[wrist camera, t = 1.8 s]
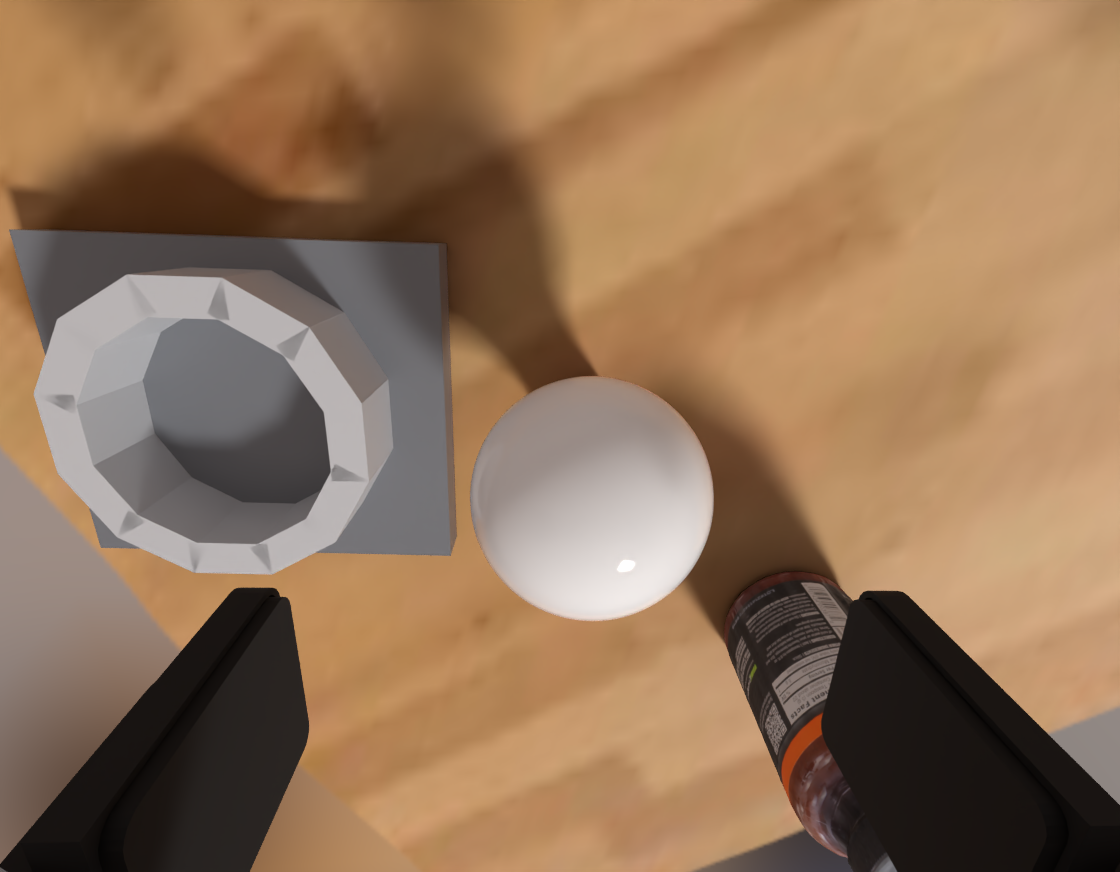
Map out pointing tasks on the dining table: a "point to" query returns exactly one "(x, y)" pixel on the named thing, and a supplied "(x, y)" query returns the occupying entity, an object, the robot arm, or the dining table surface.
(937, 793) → the robot arm
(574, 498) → the lightbulb
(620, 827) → the dining table surface
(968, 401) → the dining table surface
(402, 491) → the socket holder
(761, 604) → the supplement bottle
